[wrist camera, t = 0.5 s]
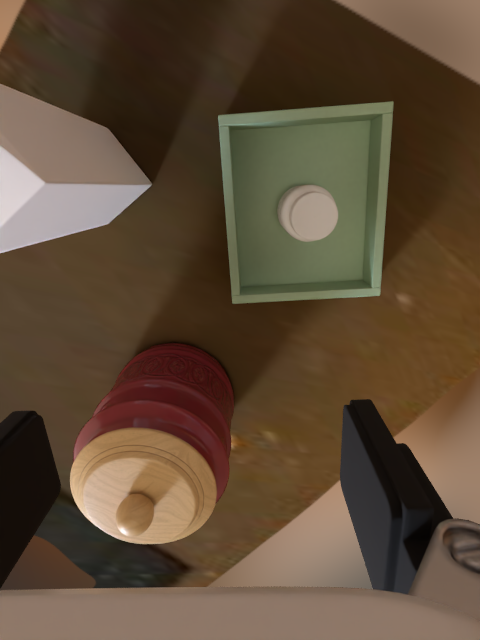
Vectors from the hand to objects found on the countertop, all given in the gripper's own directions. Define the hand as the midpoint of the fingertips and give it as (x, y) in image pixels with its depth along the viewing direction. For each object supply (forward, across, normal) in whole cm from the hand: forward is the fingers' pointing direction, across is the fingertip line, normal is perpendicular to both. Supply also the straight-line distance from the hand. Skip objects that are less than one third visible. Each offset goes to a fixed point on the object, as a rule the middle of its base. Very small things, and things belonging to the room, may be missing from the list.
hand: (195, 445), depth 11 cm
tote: (+26, -7, -5) cm, 28 cm away
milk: (+27, +11, -9) cm, 30 cm away
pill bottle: (+26, -7, -5) cm, 28 cm away
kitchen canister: (+27, +7, +14) cm, 31 cm away
